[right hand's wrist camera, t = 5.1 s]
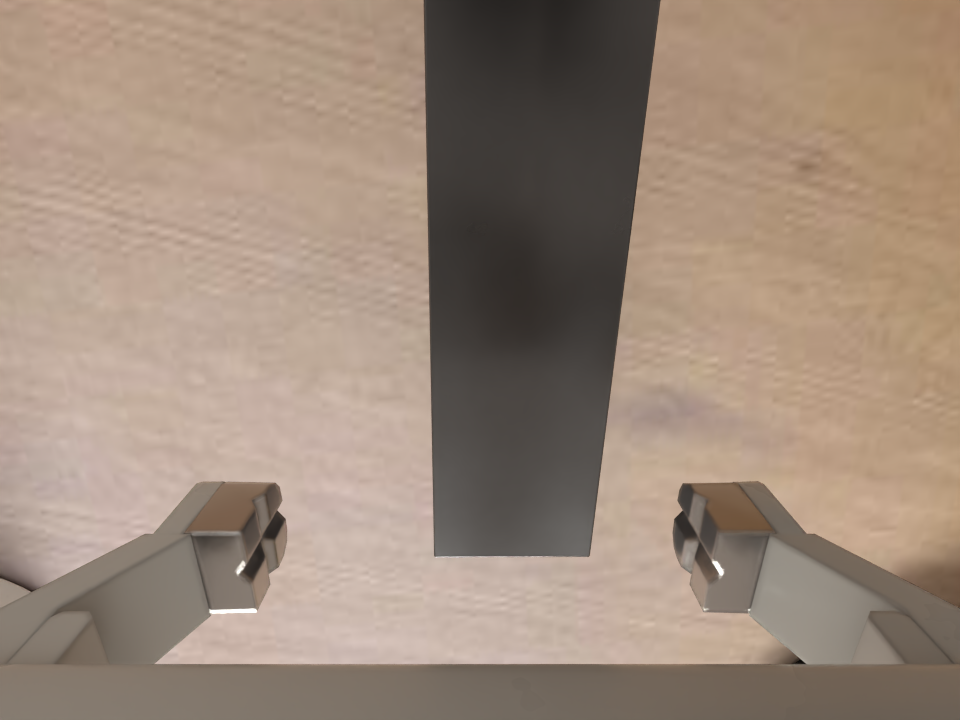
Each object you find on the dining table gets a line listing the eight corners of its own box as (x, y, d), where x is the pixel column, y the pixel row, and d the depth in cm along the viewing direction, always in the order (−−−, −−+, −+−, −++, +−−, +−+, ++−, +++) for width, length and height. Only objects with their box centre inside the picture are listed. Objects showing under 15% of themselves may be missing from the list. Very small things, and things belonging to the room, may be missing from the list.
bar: (548, 418, 24) (589, 557, 16) (444, 418, 23) (434, 558, 16) (607, -317, 15) (769, -840, 7) (438, -325, 14) (407, -868, 7)
